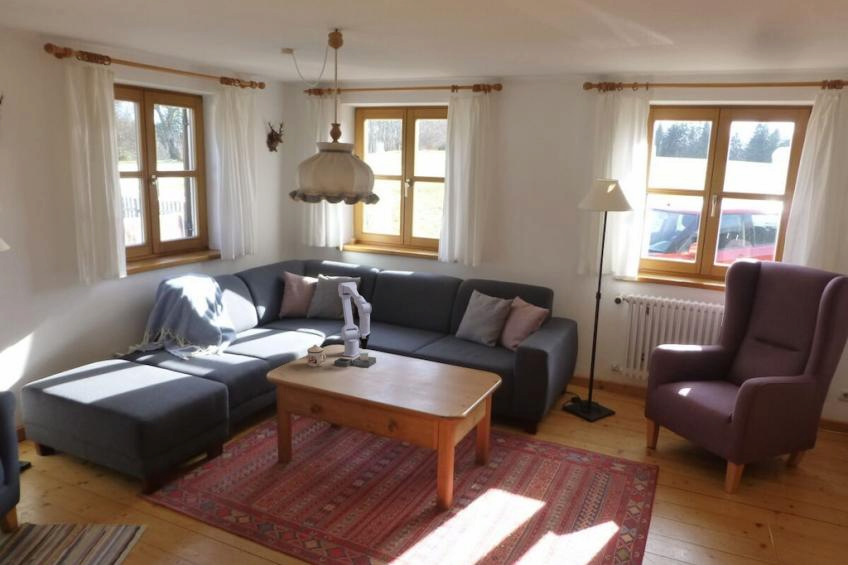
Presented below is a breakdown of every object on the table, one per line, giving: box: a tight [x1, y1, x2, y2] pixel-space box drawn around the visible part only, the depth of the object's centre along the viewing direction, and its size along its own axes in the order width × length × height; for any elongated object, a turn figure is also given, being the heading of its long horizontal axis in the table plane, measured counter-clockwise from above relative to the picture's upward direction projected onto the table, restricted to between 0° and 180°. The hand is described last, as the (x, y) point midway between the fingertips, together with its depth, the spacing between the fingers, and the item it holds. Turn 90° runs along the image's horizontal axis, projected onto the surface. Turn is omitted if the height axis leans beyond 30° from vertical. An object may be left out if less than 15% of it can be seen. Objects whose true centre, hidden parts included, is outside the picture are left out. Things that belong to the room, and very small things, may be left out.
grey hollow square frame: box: [333, 357, 354, 368], centre depth 354 cm, size 7×8×2 cm
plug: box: [359, 351, 369, 361], centre depth 356 cm, size 3×4×7 cm, turn 91°
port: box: [352, 355, 377, 369], centre depth 356 cm, size 10×10×3 cm
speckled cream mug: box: [307, 344, 327, 368], centre depth 351 cm, size 12×9×12 cm
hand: (364, 347), depth 354 cm, fingers open, 7 cm apart
